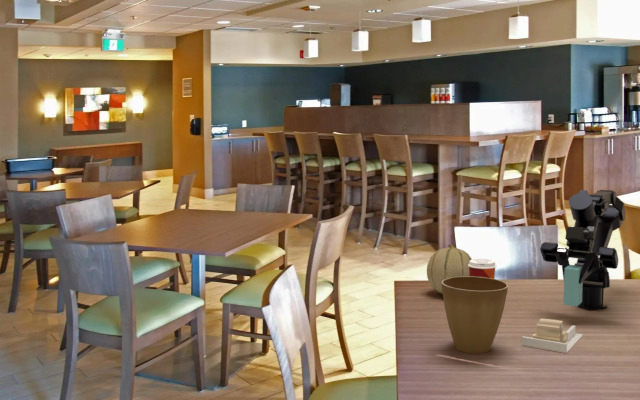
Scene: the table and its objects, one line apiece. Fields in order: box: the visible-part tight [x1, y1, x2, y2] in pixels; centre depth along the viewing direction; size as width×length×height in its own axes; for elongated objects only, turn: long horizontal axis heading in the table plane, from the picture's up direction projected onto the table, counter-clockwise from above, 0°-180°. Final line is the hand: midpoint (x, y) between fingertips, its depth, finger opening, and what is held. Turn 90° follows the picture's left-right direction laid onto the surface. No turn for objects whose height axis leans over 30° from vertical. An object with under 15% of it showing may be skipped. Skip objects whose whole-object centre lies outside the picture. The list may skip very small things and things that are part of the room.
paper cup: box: [468, 258, 497, 279], centre depth 194 cm, size 8×8×14 cm
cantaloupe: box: [426, 244, 473, 295], centre depth 211 cm, size 15×15×15 cm
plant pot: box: [442, 276, 509, 355], centre depth 161 cm, size 15×15×16 cm
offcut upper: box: [535, 318, 564, 338], centre depth 164 cm, size 6×5×2 cm
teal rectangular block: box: [563, 264, 583, 307], centre depth 180 cm, size 5×3×10 cm
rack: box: [521, 325, 584, 354], centre depth 167 cm, size 16×10×3 cm, turn 146°
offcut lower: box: [531, 330, 567, 343], centre depth 164 cm, size 7×6×2 cm
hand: (572, 281), depth 178 cm, fingers closed on teal rectangular block, 3 cm apart
